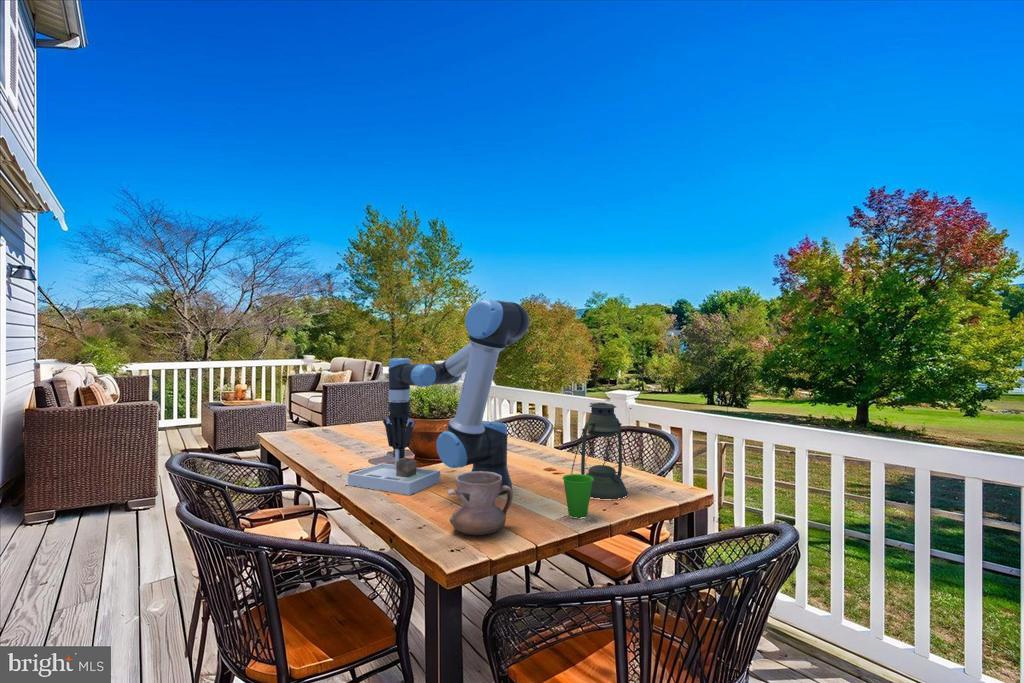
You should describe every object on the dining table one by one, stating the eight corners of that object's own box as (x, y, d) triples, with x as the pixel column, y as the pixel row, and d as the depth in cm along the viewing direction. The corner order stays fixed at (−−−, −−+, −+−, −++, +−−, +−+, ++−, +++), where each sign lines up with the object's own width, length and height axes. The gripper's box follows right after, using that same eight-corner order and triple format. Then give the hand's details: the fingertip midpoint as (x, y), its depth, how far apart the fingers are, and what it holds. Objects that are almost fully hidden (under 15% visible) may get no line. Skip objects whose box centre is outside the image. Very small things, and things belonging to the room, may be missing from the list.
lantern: (601, 505, 155) (602, 408, 155) (560, 491, 168) (561, 402, 169) (641, 493, 168) (642, 403, 168) (601, 481, 181) (601, 399, 182)
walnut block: (416, 474, 179) (416, 460, 179) (407, 477, 175) (408, 463, 175) (404, 472, 182) (405, 458, 182) (396, 475, 177) (396, 461, 177)
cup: (595, 521, 140) (596, 482, 140) (563, 521, 140) (563, 482, 140) (591, 511, 149) (591, 474, 149) (560, 510, 149) (561, 473, 149)
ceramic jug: (451, 543, 124) (452, 486, 124) (442, 523, 137) (443, 471, 138) (520, 536, 129) (521, 481, 129) (505, 517, 143) (506, 468, 143)
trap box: (440, 482, 179) (440, 470, 179) (409, 495, 162) (409, 483, 162) (382, 473, 190) (382, 463, 190) (348, 485, 173) (348, 473, 173)
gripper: (420, 401, 180) (420, 466, 180) (391, 399, 186) (391, 462, 186) (407, 403, 174) (407, 471, 173) (377, 401, 179) (377, 467, 179)
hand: (398, 466), depth 179 cm, fingers closed
